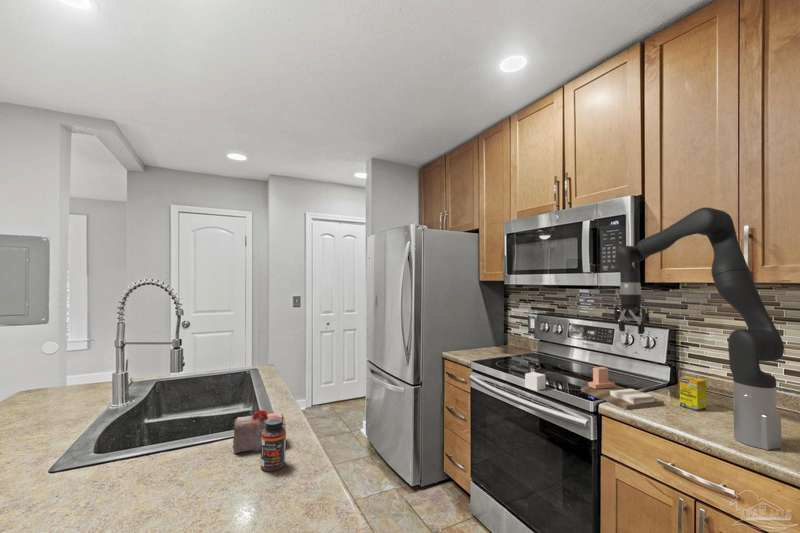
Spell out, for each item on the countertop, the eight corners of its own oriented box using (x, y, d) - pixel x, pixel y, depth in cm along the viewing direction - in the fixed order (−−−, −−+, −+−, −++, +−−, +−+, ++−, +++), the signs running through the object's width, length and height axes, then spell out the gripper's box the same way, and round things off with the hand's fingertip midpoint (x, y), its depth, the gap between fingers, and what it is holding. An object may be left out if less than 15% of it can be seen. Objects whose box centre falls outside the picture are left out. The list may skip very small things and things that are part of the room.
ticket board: (663, 405, 139) (663, 395, 139) (626, 409, 134) (626, 399, 134) (615, 387, 160) (614, 379, 160) (581, 391, 155) (581, 382, 155)
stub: (614, 387, 156) (614, 368, 156) (595, 388, 153) (595, 370, 153) (607, 384, 159) (607, 366, 160) (588, 386, 157) (588, 367, 157)
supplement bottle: (261, 474, 89) (261, 427, 89) (259, 462, 94) (260, 418, 94) (286, 469, 91) (287, 423, 91) (284, 458, 97) (284, 415, 97)
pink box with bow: (282, 436, 110) (283, 403, 110) (286, 448, 103) (286, 412, 103) (232, 445, 104) (233, 410, 104) (232, 457, 97) (233, 420, 97)
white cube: (537, 391, 155) (537, 376, 155) (525, 387, 160) (525, 373, 160) (545, 388, 159) (545, 374, 159) (533, 385, 164) (533, 371, 164)
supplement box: (679, 406, 138) (679, 377, 138) (688, 404, 140) (688, 375, 141) (697, 411, 132) (697, 381, 133) (706, 409, 135) (706, 379, 135)
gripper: (653, 294, 147) (654, 334, 147) (622, 293, 161) (623, 330, 160) (639, 294, 145) (640, 335, 144) (609, 293, 159) (609, 330, 158)
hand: (631, 332), depth 152 cm, fingers open, 8 cm apart
